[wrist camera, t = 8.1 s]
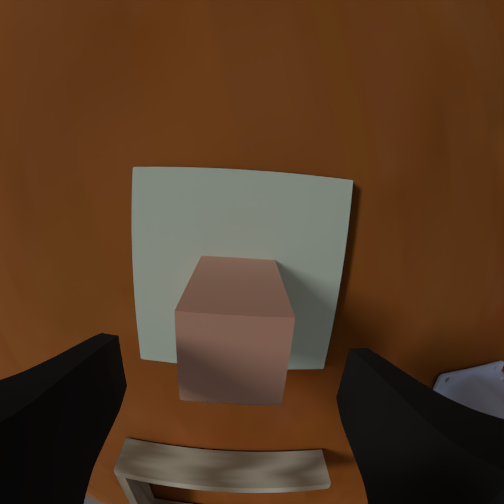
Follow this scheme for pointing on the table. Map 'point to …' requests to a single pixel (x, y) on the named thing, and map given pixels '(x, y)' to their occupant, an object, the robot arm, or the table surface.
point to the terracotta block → (233, 332)
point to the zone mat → (238, 245)
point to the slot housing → (215, 470)
